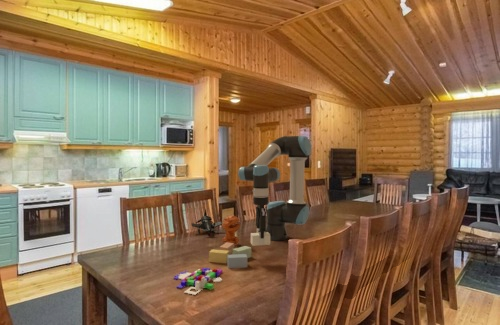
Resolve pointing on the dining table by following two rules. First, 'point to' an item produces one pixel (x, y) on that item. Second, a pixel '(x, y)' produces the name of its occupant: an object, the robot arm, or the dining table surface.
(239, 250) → the sage brick
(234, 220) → the orange lumpy upright piece
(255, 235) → the cream brick
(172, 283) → the dining table surface
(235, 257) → the slate brick
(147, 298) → the dining table surface
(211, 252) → the ochre brick
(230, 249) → the terracotta brick
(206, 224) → the airplane toy
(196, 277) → the building block set
